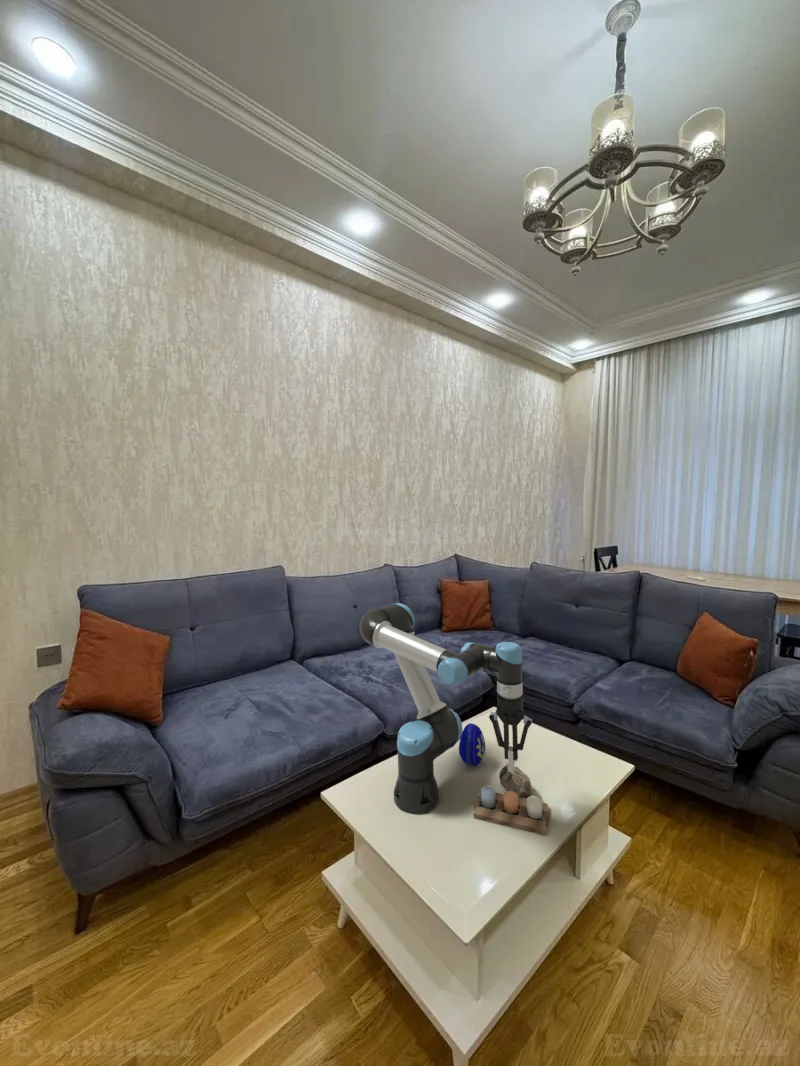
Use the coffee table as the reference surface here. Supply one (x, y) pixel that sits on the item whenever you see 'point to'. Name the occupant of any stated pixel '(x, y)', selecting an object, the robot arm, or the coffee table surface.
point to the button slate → (488, 797)
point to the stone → (515, 782)
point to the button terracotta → (511, 802)
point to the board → (509, 819)
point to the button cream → (534, 807)
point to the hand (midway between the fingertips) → (511, 769)
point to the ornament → (472, 745)
